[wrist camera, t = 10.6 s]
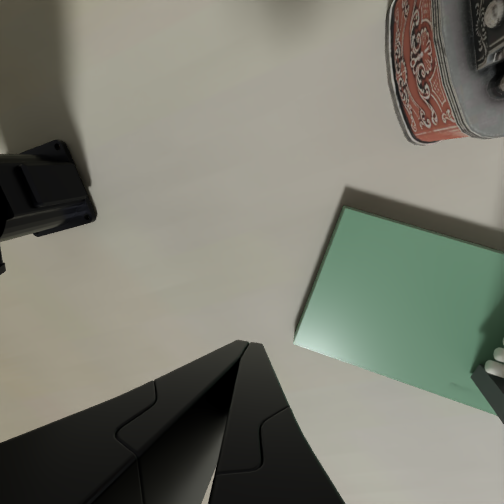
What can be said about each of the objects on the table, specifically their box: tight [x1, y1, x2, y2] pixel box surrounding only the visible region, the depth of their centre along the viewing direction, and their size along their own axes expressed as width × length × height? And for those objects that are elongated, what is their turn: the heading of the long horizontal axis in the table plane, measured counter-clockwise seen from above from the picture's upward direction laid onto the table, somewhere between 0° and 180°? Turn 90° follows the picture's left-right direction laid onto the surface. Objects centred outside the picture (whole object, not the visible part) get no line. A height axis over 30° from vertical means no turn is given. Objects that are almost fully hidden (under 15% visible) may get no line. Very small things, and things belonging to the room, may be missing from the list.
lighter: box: [385, 0, 504, 146], centre depth 11 cm, size 8×3×10 cm, turn 18°
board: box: [293, 205, 504, 415], centre depth 20 cm, size 19×11×1 cm, turn 76°
